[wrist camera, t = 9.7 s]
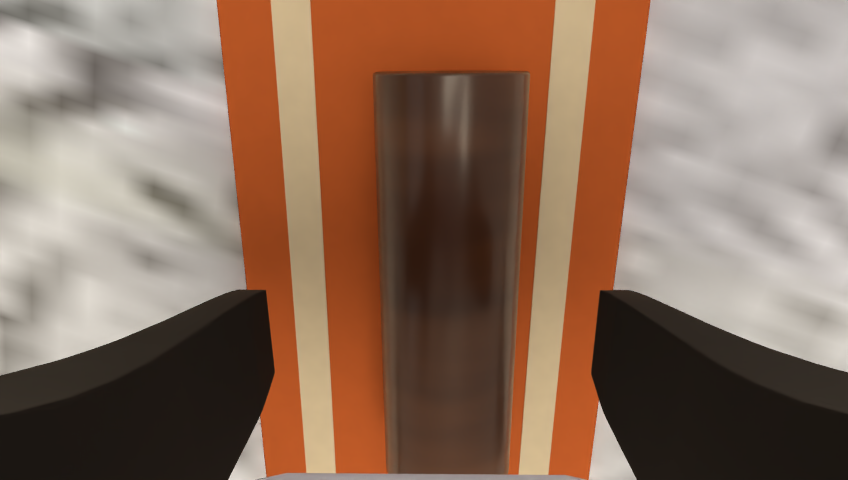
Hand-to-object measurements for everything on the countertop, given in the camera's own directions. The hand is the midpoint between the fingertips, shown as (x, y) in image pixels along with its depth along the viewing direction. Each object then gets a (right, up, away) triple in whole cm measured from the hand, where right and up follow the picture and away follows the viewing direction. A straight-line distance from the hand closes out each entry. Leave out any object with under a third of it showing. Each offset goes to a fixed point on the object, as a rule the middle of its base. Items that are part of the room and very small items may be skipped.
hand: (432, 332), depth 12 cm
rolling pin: (0, +1, +2) cm, 3 cm away
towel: (0, +1, +5) cm, 5 cm away
